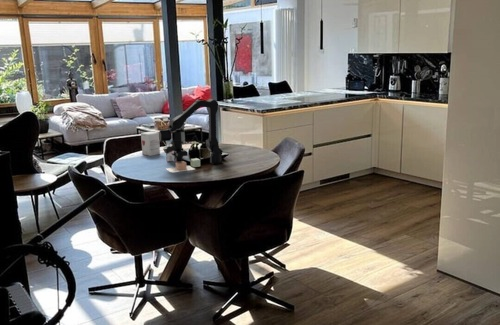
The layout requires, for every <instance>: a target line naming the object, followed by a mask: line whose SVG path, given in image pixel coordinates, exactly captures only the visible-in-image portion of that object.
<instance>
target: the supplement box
mask: <svg viewBox="0 0 500 325" xmlns="http://www.w3.org/2000/svg"><path fill="white" fill-rule="evenodd" d="M140 139H141V155H145V156H150V157H151V156H155V155H160V154H161V148H160V147H161V146H160V145H161V144H160V140H159V132H158V131H151V130H150V131H145V132H141V133H140Z"/></svg>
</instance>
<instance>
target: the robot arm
mask: <svg viewBox="0 0 500 325" xmlns="http://www.w3.org/2000/svg"><path fill="white" fill-rule="evenodd" d="M200 108H206V110H207V113H208V138H207V139H205V147H206V149H208V151H209V153H210V156H209V163H210V164H212V165H220V164H224V162H223V156H222V155H223V152H224V151H223V150H222V149H221V148H220V145H219V140H218V138H217V113H218V110H219V102H218V101H217V100H216V99H212V98H209V99H207V100H205V99H196V100H195V101H194V102H193V103H192V104H191V105H190V106H188V108H186V109H185V110H184V111H183V112H182V113H181V114H179V115H177V116H175V117H173V118H172V119H171V120H170V121H169V122H170V123H169V125H168V127H167V128H166V129H159V132H158V133H159V142H166V141H170V139H171V138H172V141H171V144H170V145H167V146H166V145H165V146H163V147H162V149H163V151H164V153H165V155H166V154H168V153H169V152H171V151H172V152H173V153H171V154H172V155H173V156H174V157H175V160H176V161H175V162H180V161H183V158H184V157H188V155H189V154H188V151H186V150H184V147H183V143H184V141H183V138H182V135H183V134H182V133H185V132H186V130H184V129H183V128H182V127H183V126H184V124H185V122H186V121H187V120H188V119H189V118H190V117H191V116H192V115H193V114H194V113H195V112H196V111H198V110H199V109H200Z"/></svg>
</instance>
